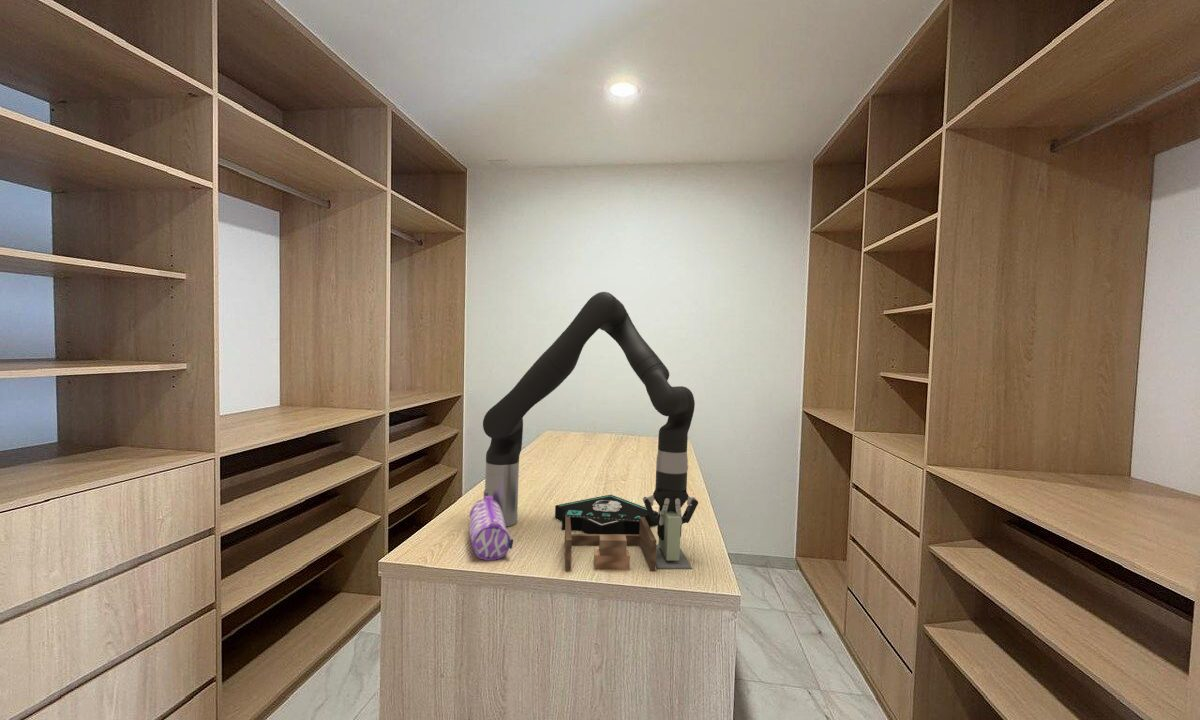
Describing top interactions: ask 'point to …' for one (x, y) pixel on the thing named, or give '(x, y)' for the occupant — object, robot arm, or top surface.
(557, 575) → the top surface
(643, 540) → the rack
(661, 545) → the green board
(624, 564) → the block
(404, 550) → the top surface
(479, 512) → the pencil case
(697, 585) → the top surface
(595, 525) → the wall plaque
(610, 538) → the upper offcut
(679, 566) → the felt pad
